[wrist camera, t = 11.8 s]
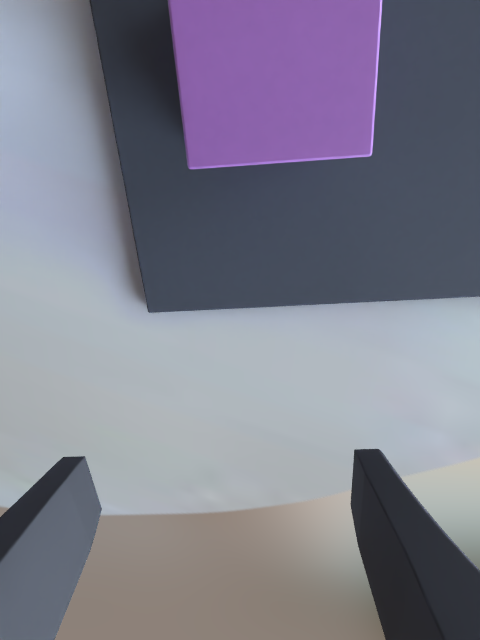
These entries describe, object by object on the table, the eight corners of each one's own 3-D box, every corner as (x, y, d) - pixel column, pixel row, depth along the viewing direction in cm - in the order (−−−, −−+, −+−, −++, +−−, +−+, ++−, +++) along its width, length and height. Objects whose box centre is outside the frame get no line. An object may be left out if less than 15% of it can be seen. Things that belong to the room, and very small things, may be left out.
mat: (150, 308, 19) (147, 313, 19) (77, -87, 13) (71, -95, 13) (597, 286, 18) (605, 290, 17) (749, -166, 12) (769, -177, 11)
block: (207, 155, 16) (187, 170, 11) (191, -7, 13) (158, -70, 9) (338, 145, 15) (372, 156, 11) (344, -22, 13) (389, -96, 9)
